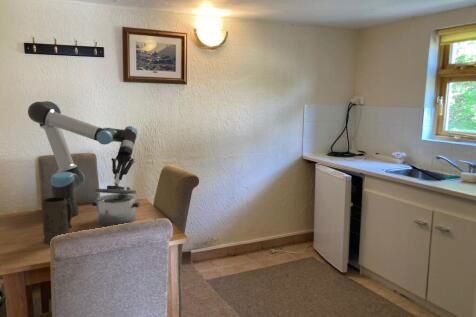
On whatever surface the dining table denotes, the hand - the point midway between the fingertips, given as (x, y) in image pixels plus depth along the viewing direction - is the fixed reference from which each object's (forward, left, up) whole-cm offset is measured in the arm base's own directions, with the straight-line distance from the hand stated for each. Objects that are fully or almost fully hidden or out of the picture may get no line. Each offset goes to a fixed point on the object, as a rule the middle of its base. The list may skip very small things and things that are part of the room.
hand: (116, 184), depth 207 cm
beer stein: (-5, -33, -20) cm, 39 cm away
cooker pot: (0, 0, -20) cm, 20 cm away
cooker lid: (0, 0, -5) cm, 5 cm away
